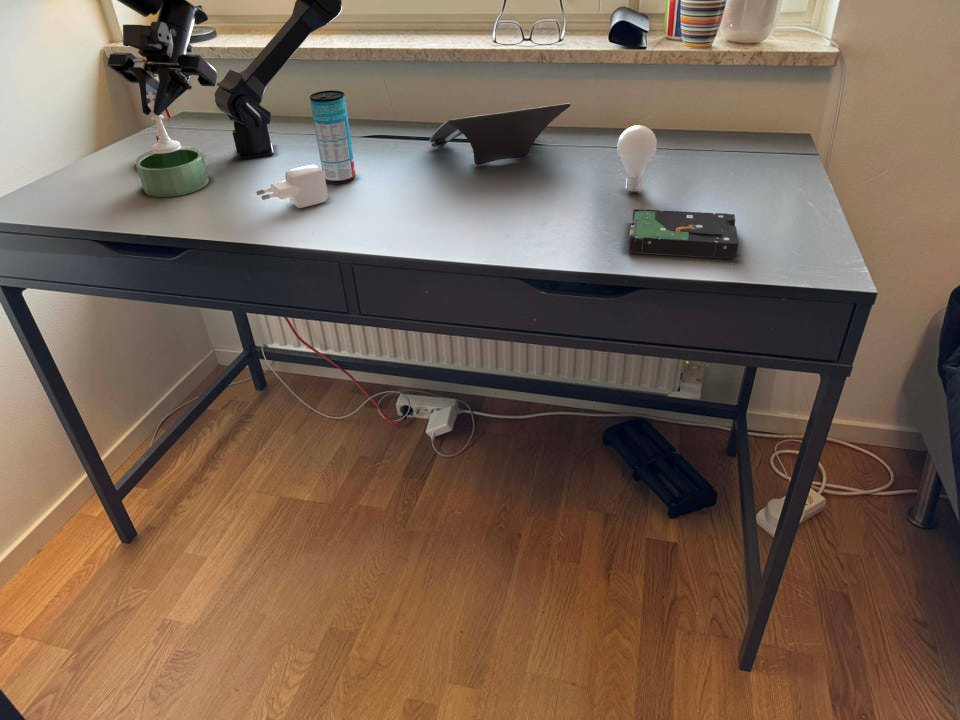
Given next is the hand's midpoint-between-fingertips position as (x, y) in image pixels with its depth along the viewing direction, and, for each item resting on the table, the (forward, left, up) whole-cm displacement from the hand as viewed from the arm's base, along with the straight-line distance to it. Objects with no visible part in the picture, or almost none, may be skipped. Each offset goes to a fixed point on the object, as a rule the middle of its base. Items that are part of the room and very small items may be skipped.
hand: (150, 114), depth 124 cm
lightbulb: (-76, +34, -13) cm, 84 cm away
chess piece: (-1, -1, -7) cm, 7 cm away
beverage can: (-30, +8, -13) cm, 34 cm away
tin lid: (+1, -16, -13) cm, 20 cm away
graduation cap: (-60, +6, -13) cm, 61 cm away
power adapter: (-21, +18, -13) cm, 31 cm away
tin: (-1, -1, -13) cm, 13 cm away
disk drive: (-73, +54, -13) cm, 92 cm away
